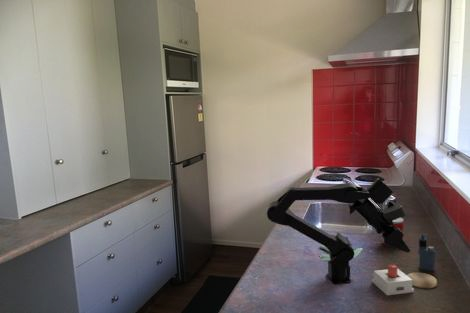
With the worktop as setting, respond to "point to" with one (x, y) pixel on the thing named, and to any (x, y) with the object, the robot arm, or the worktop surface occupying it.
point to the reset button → (392, 271)
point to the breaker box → (392, 282)
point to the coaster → (422, 280)
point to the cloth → (327, 257)
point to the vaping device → (426, 255)
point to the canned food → (398, 225)
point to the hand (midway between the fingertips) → (404, 246)
